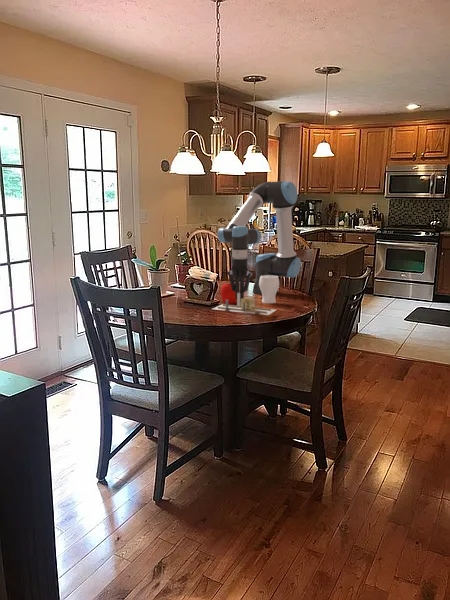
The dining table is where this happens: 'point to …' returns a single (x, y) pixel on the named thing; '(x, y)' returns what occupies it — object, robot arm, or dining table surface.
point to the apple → (228, 294)
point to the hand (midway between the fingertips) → (239, 305)
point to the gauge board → (238, 309)
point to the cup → (269, 288)
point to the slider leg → (248, 303)
